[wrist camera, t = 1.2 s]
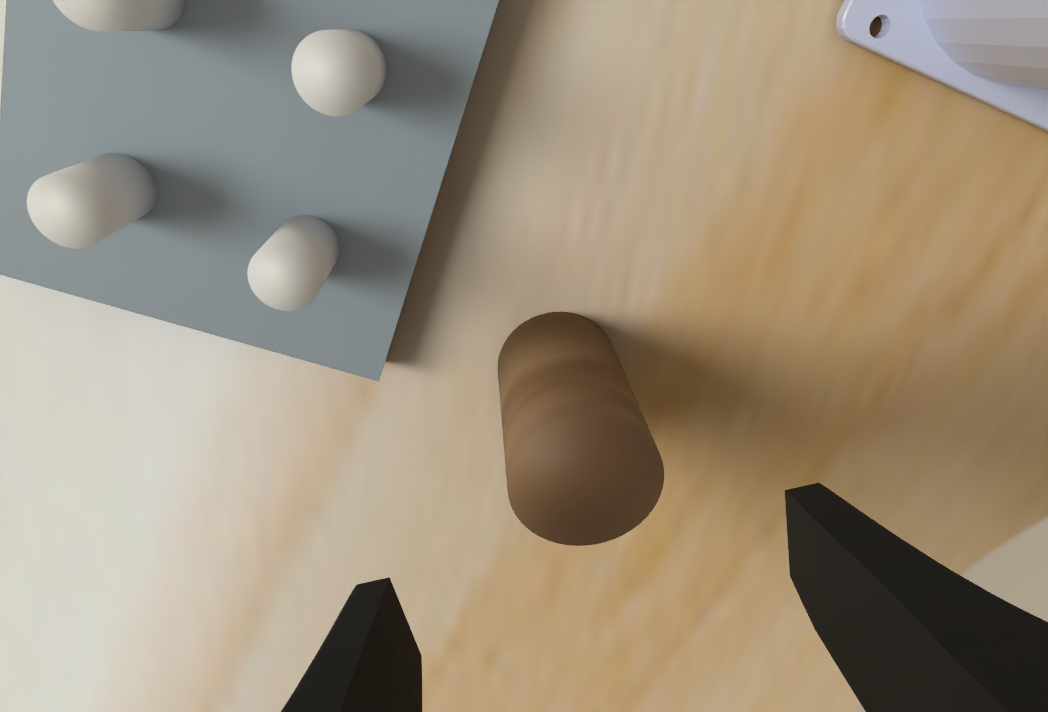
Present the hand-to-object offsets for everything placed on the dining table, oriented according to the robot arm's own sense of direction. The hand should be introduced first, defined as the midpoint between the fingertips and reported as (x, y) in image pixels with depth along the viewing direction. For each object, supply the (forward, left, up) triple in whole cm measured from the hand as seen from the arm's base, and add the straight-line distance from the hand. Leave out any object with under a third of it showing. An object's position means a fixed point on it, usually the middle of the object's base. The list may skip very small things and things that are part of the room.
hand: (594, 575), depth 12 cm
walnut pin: (-1, 0, -10) cm, 10 cm away
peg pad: (+9, -4, -9) cm, 14 cm away
